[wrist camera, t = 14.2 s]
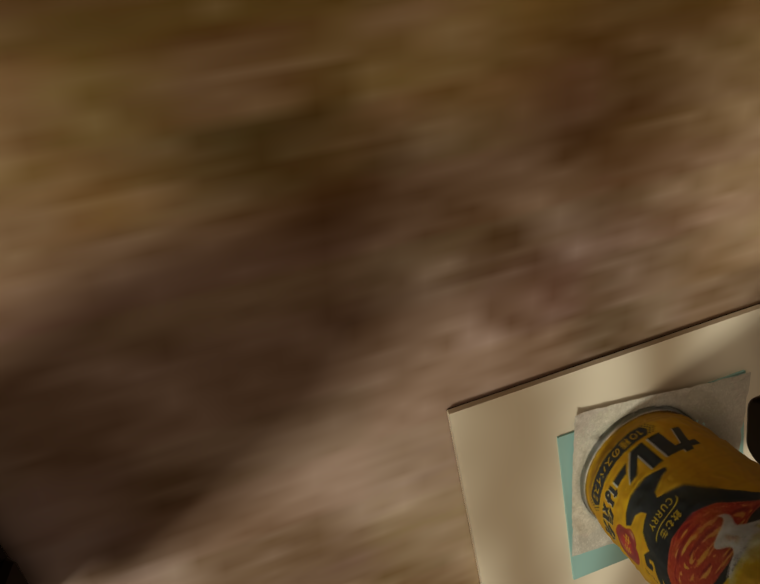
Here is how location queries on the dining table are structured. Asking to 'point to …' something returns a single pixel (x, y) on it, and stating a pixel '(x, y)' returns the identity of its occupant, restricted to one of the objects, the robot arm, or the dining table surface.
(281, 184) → the dining table surface
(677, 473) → the condiment
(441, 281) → the dining table surface
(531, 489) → the corner arena
